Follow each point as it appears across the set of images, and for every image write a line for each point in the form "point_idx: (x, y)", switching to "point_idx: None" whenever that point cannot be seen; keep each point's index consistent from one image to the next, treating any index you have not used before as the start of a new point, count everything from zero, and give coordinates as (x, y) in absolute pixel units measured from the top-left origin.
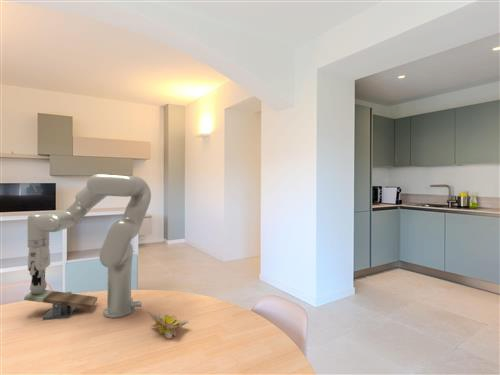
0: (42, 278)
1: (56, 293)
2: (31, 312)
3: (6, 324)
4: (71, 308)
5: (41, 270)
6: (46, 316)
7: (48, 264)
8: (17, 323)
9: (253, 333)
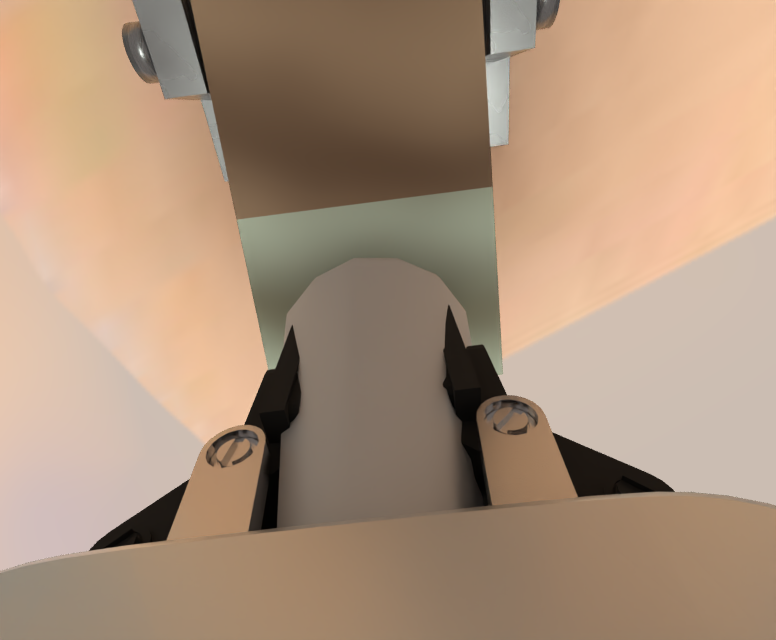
0: (411, 361)
1: (283, 138)
2: None
3: (517, 342)
4: None
5: (723, 495)
6: (489, 120)
7: (69, 619)
8: (518, 289)
9: None
